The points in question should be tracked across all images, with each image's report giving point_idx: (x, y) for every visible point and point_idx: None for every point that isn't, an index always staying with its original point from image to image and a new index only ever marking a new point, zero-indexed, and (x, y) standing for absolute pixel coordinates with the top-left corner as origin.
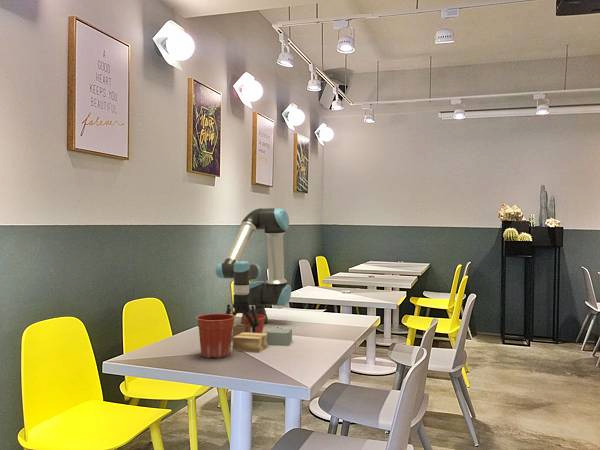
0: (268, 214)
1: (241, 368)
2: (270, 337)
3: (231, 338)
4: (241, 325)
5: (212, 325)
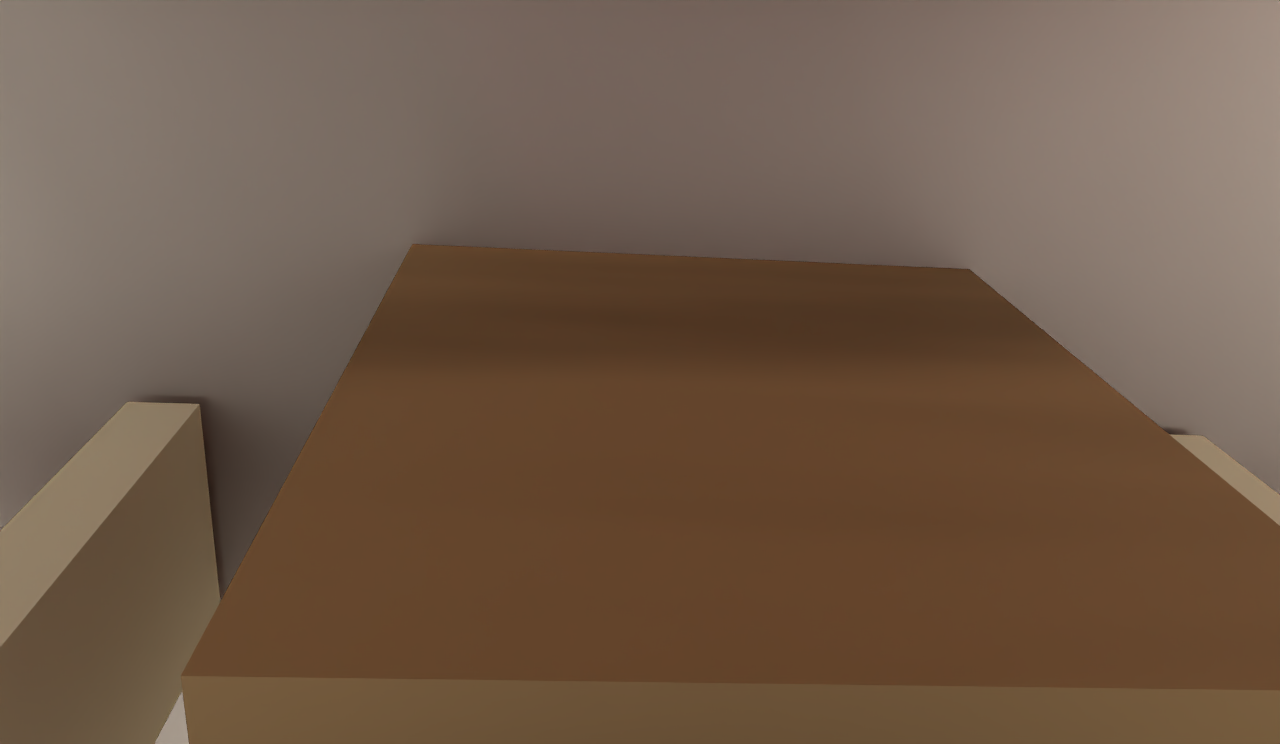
0: None
1: None
2: None
3: (195, 445)
4: None
5: None
